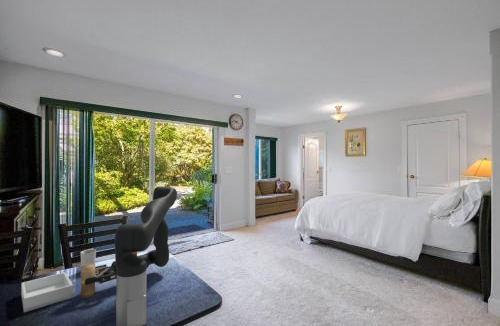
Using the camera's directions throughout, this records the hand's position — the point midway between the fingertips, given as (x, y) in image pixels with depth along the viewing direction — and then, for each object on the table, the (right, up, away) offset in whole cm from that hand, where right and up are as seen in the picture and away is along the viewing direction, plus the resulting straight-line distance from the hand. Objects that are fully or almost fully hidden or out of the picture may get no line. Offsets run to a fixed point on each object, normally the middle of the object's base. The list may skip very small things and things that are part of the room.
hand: (82, 278), depth 99 cm
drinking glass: (-14, -8, +25) cm, 30 cm away
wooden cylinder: (+1, -7, +1) cm, 7 cm away
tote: (-15, -7, 0) cm, 17 cm away
